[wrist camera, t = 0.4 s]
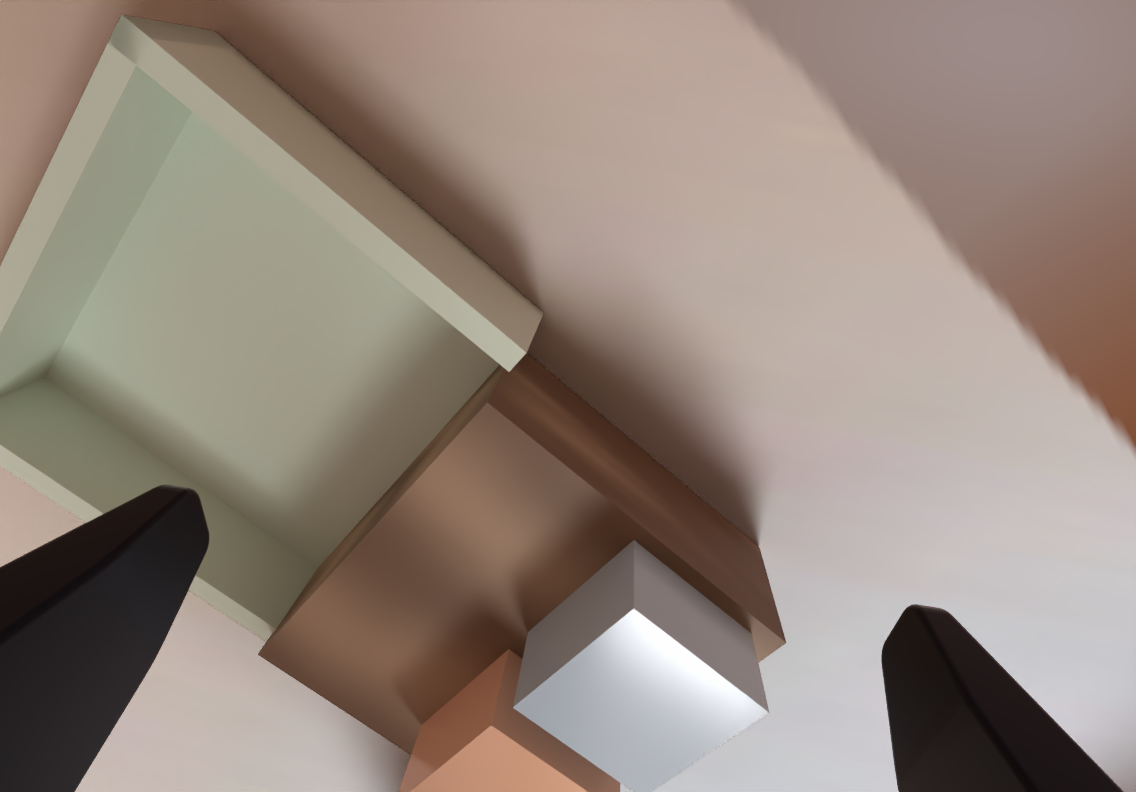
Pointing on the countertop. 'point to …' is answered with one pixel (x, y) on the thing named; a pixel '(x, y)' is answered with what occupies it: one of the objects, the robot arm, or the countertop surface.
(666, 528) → the walnut block
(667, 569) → the pale grey squat block
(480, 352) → the sage tray
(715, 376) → the countertop surface
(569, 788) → the peach square prism
